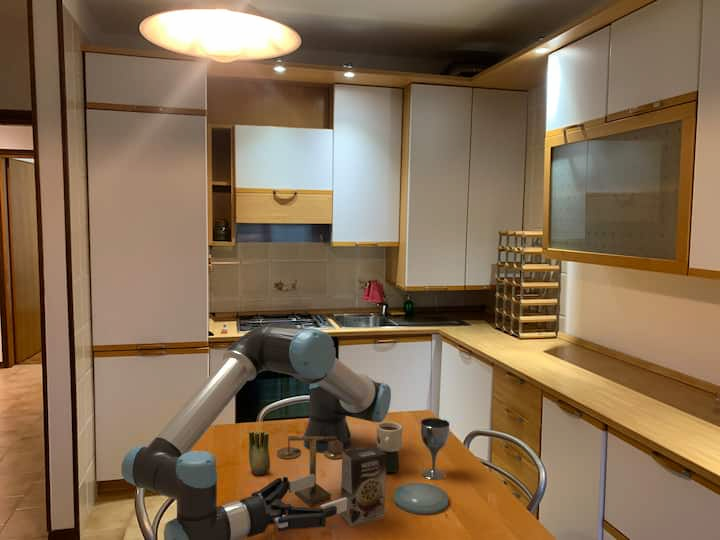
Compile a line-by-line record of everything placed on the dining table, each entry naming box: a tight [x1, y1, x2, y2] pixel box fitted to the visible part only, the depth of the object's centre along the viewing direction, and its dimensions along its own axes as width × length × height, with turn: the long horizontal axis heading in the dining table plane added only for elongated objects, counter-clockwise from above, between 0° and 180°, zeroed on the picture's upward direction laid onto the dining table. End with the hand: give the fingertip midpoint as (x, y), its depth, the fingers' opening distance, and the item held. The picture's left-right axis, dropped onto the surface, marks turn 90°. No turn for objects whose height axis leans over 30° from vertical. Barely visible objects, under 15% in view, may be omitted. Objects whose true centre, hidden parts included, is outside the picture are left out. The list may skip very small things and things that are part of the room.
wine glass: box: [420, 417, 450, 481], centre depth 158 cm, size 8×8×15 cm
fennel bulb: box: [248, 430, 271, 476], centre depth 157 cm, size 6×5×12 cm
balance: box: [276, 435, 346, 508], centre depth 143 cm, size 8×20×18 cm, turn 126°
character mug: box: [376, 421, 403, 474], centre depth 160 cm, size 11×7×13 cm, turn 168°
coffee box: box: [340, 444, 387, 527], centre depth 134 cm, size 9×6×16 cm
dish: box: [393, 482, 449, 516], centre depth 143 cm, size 14×14×1 cm
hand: (329, 491), depth 128 cm, fingers open, 13 cm apart
